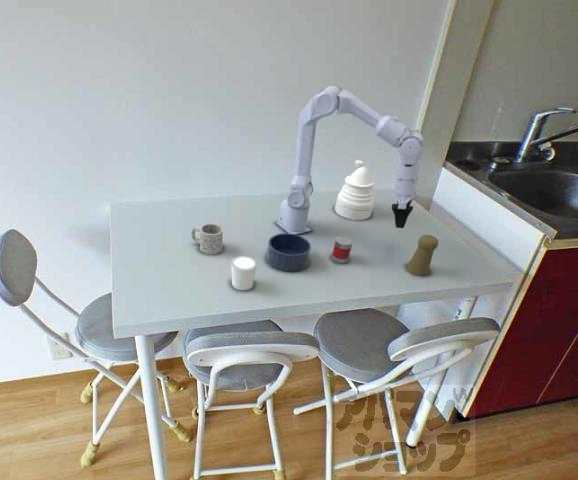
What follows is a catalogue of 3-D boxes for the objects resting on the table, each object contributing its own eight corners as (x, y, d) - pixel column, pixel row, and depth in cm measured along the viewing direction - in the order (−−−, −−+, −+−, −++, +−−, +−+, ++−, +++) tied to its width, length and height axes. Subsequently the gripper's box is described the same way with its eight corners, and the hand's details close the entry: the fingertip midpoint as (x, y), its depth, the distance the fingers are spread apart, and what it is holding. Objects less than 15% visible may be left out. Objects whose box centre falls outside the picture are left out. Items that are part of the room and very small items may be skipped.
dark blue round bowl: (259, 254, 127) (260, 238, 123) (292, 245, 131) (295, 230, 128) (281, 275, 118) (283, 259, 115) (316, 265, 123) (319, 249, 120)
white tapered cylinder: (228, 276, 117) (230, 255, 112) (253, 276, 117) (255, 255, 113) (230, 291, 111) (232, 270, 107) (256, 291, 112) (258, 270, 108)
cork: (429, 277, 122) (443, 244, 115) (408, 273, 122) (420, 241, 116) (426, 265, 126) (439, 233, 120) (405, 262, 127) (417, 230, 120)
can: (328, 256, 127) (332, 238, 123) (340, 253, 129) (345, 234, 125) (338, 265, 124) (343, 246, 120) (351, 261, 126) (356, 242, 122)
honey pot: (328, 212, 151) (339, 163, 140) (343, 200, 160) (354, 153, 149) (362, 223, 145) (376, 173, 134) (375, 210, 154) (389, 162, 143)
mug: (225, 246, 129) (226, 227, 125) (215, 256, 124) (216, 237, 120) (197, 237, 132) (197, 218, 128) (186, 247, 127) (186, 228, 123)
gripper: (421, 187, 111) (413, 234, 118) (423, 169, 122) (417, 212, 129) (392, 186, 113) (387, 231, 121) (397, 168, 124) (392, 211, 132)
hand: (400, 221), depth 125 cm, fingers open, 7 cm apart
